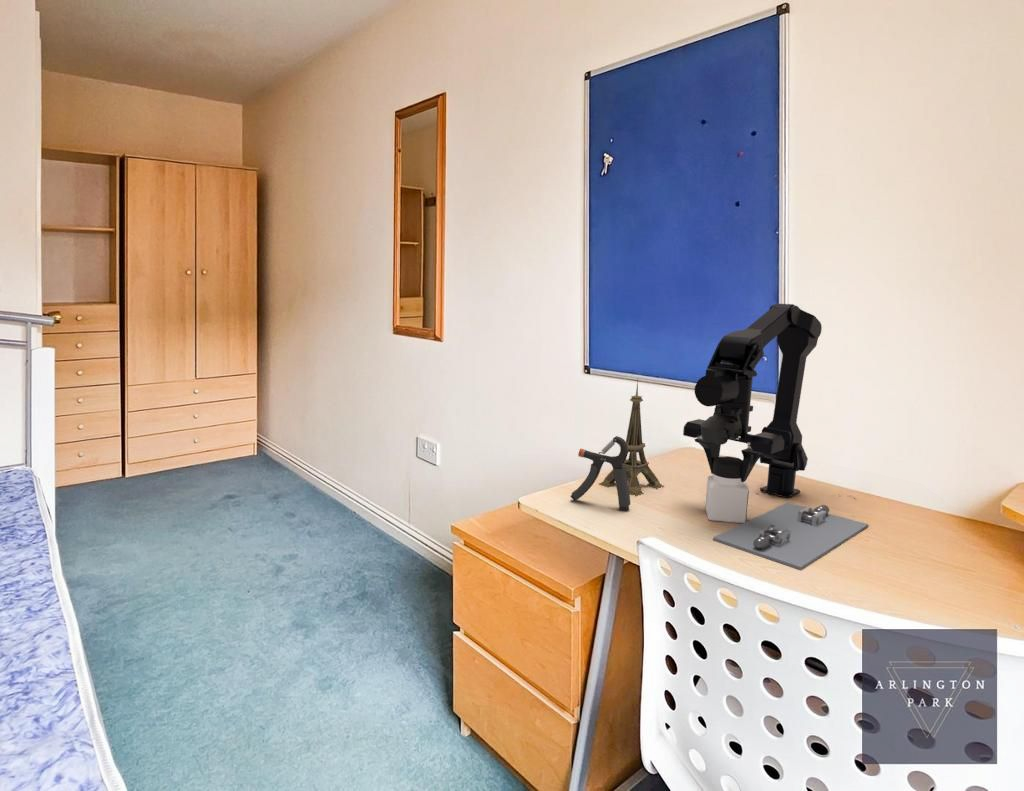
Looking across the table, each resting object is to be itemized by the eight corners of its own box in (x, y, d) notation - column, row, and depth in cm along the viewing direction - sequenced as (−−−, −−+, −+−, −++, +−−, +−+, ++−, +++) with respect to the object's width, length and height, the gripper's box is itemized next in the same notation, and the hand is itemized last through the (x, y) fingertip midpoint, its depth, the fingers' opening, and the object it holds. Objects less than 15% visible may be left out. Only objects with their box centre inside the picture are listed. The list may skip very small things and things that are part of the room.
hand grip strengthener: (572, 498, 138) (575, 430, 136) (630, 508, 133) (634, 437, 130) (569, 502, 136) (572, 432, 134) (627, 512, 131) (632, 440, 128)
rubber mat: (787, 504, 138) (787, 502, 138) (868, 526, 126) (868, 524, 126) (712, 539, 118) (713, 537, 118) (800, 569, 106) (800, 567, 106)
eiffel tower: (626, 476, 156) (633, 373, 151) (664, 487, 148) (671, 379, 144) (598, 484, 149) (604, 377, 144) (636, 496, 141) (643, 383, 136)
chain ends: (816, 510, 133) (817, 501, 133) (834, 515, 131) (835, 506, 130) (746, 547, 114) (747, 536, 113) (766, 554, 111) (767, 543, 111)
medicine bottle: (746, 524, 126) (751, 464, 124) (708, 520, 128) (712, 461, 125) (740, 511, 133) (746, 455, 131) (704, 508, 134) (709, 452, 132)
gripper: (670, 397, 127) (665, 474, 130) (760, 413, 114) (752, 498, 117) (701, 392, 135) (695, 464, 138) (789, 406, 121) (781, 486, 124)
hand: (728, 477), depth 129 cm, fingers closed on medicine bottle, 6 cm apart
